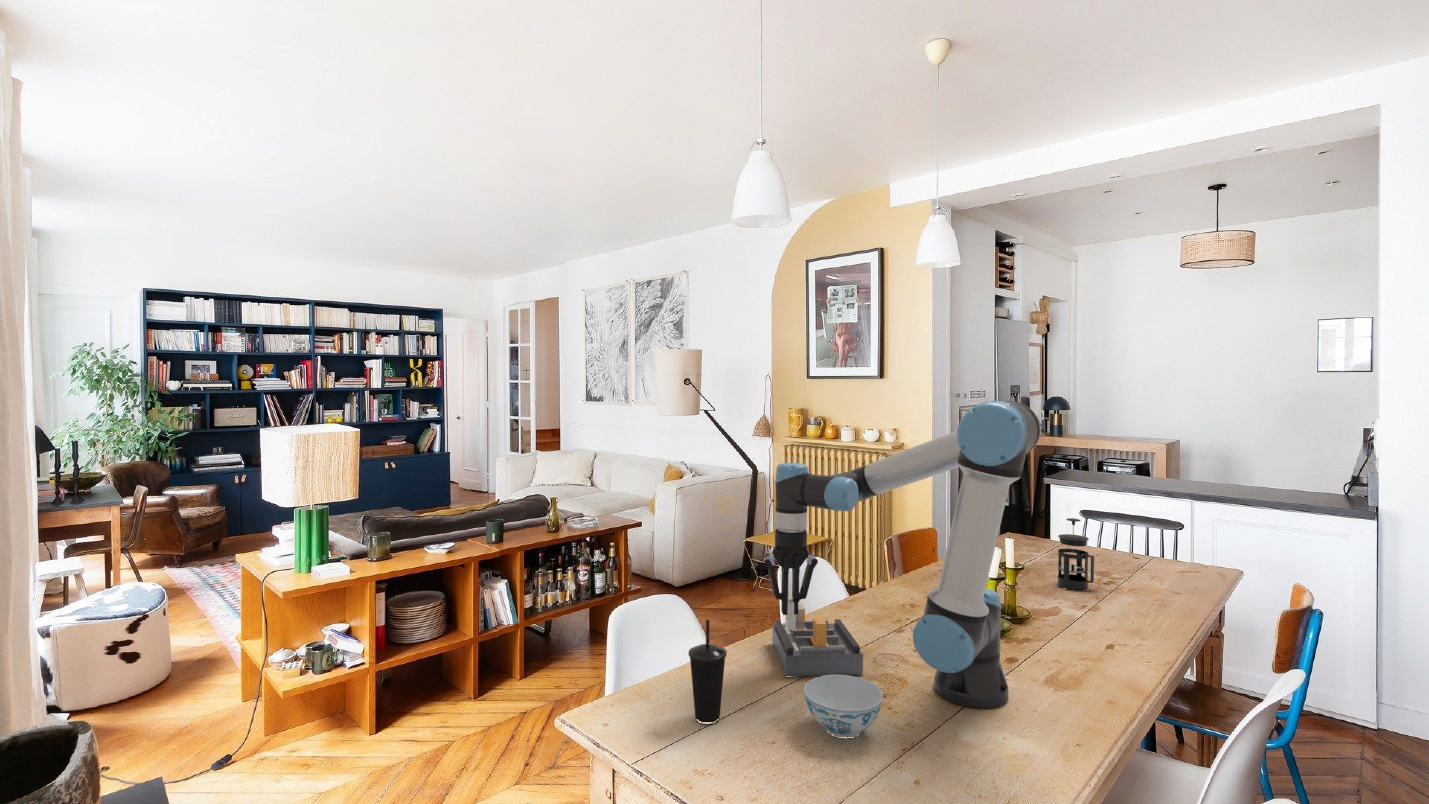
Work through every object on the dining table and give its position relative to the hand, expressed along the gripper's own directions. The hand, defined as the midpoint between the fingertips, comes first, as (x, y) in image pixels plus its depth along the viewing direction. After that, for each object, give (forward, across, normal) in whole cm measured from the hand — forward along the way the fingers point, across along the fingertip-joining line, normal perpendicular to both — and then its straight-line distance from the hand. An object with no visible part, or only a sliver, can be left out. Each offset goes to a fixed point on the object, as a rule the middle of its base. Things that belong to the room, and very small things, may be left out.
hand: (789, 627), depth 157 cm
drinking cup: (+10, +21, +23) cm, 33 cm away
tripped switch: (+4, -7, 0) cm, 8 cm away
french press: (+9, -106, -57) cm, 121 cm away
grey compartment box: (+10, -7, -5) cm, 13 cm away
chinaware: (+10, -5, +29) cm, 31 cm away
